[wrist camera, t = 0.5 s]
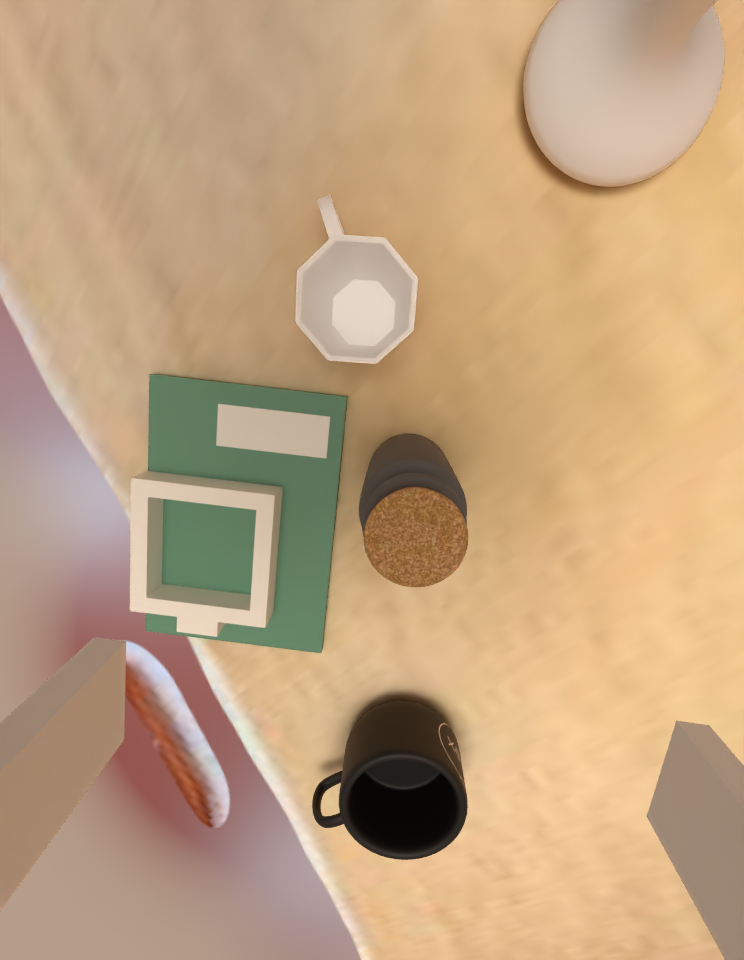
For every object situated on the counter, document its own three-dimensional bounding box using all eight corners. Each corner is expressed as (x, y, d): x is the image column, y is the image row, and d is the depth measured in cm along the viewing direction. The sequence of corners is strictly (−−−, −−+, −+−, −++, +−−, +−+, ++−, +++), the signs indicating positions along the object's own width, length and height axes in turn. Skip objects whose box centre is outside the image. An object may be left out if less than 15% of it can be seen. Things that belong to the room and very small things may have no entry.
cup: (333, 380, 37) (316, 384, 29) (284, 237, 35) (251, 199, 27) (428, 348, 36) (437, 342, 28) (383, 199, 34) (379, 149, 26)
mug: (431, 673, 41) (438, 735, 34) (473, 763, 43) (487, 840, 36) (297, 721, 43) (278, 791, 36) (342, 806, 44) (332, 888, 37)
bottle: (375, 427, 37) (360, 466, 22) (455, 439, 37) (493, 487, 22) (363, 504, 38) (342, 589, 24) (440, 516, 38) (467, 609, 24)
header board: (154, 374, 37) (131, 374, 34) (347, 396, 37) (342, 399, 34) (150, 625, 41) (129, 647, 38) (322, 647, 41) (316, 671, 38)
